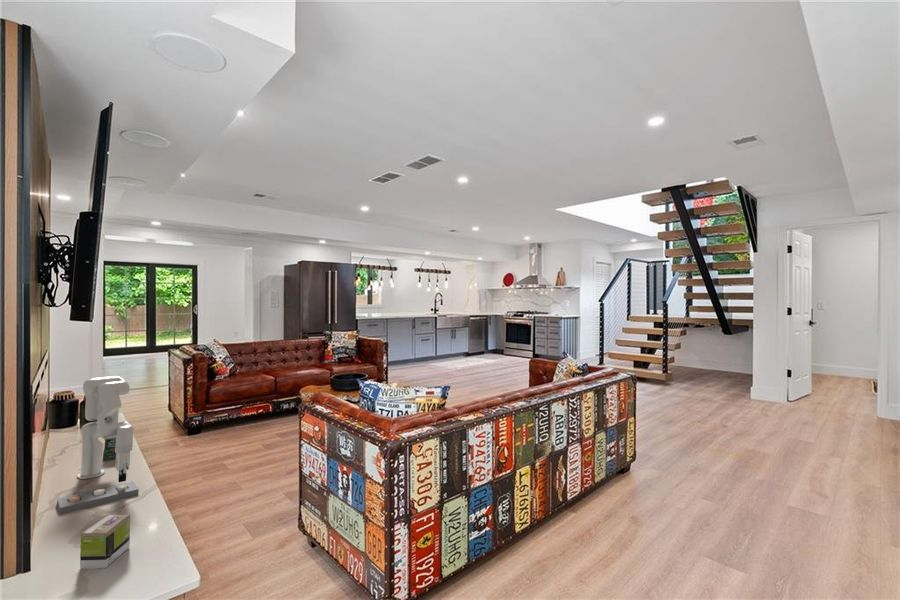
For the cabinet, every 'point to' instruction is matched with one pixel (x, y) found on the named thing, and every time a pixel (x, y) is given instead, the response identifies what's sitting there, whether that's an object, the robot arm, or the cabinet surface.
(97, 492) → the cream button
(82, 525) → the cabinet surface
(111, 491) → the button panel
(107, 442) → the green snack bag
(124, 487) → the sage button
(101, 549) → the tea box
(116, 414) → the robot arm
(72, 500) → the terracotta button
